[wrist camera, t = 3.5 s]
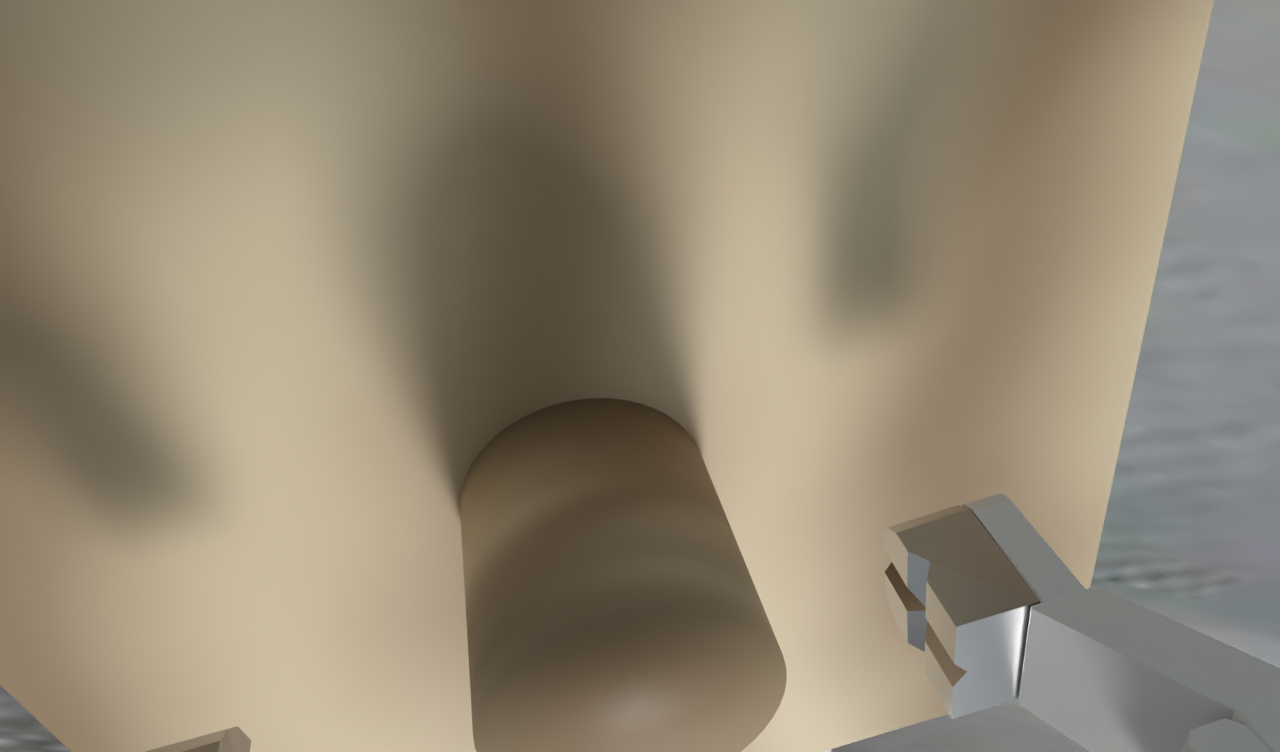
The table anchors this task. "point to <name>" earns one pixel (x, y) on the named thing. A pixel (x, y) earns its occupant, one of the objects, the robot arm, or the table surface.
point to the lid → (549, 352)
